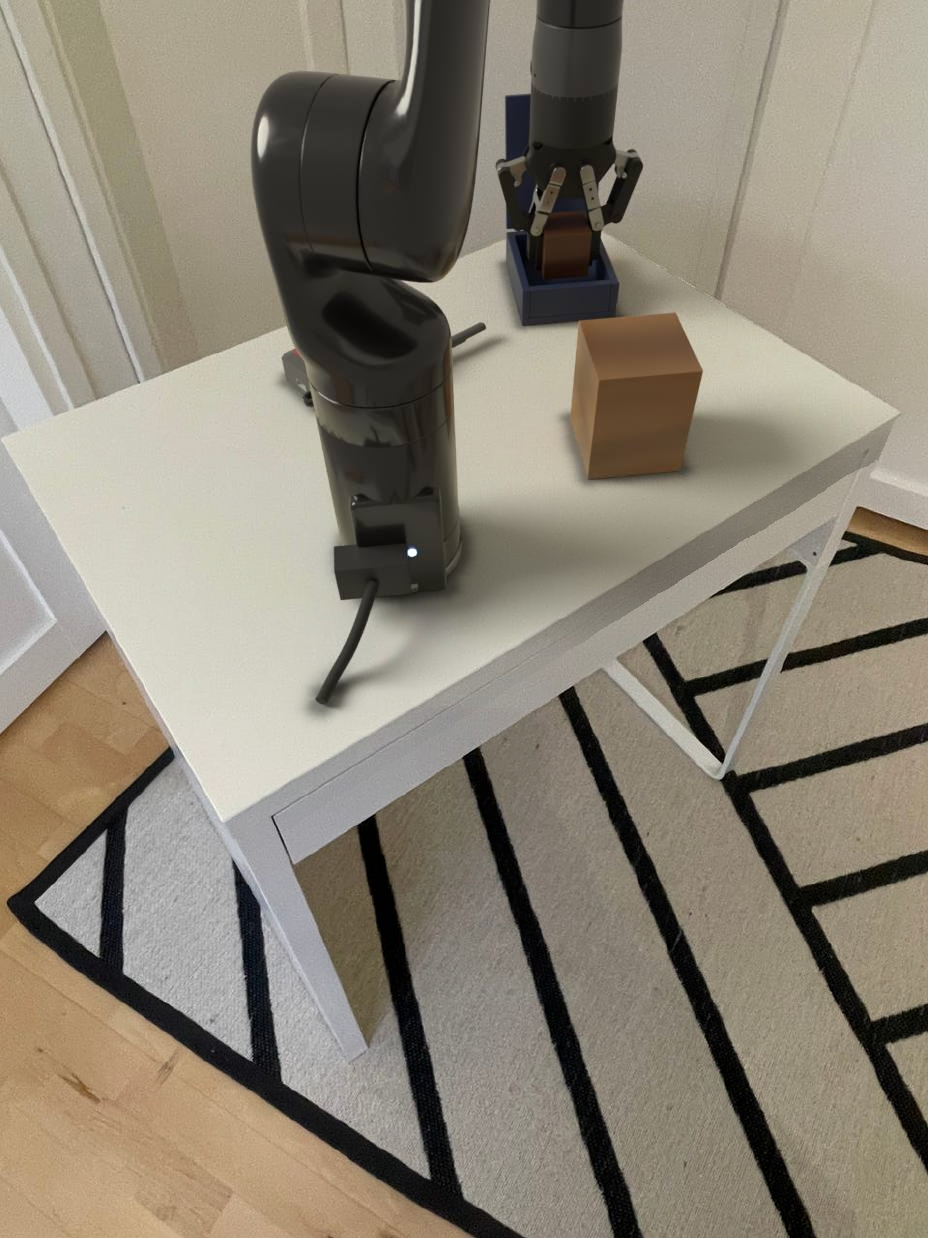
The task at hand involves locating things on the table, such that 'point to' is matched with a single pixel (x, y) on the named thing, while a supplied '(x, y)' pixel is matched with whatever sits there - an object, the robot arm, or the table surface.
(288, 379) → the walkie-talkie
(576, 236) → the block
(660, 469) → the stand
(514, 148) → the cover
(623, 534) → the table surface
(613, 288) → the navy jewelry box
